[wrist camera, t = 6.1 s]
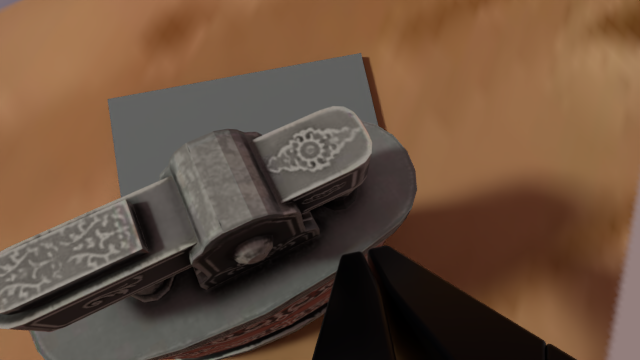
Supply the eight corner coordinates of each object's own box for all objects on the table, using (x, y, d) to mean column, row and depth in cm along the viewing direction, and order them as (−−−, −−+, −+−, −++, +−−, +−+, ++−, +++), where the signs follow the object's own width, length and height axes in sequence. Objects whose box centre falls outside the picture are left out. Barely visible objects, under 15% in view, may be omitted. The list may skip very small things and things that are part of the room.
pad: (394, 200, 17) (396, 199, 16) (132, 254, 16) (128, 254, 16) (359, 56, 17) (361, 53, 17) (111, 102, 17) (107, 99, 16)
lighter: (352, 199, 17) (380, 6, 7) (396, 278, 15) (496, 169, 6) (154, 294, 15) (-113, 209, 6) (185, 388, 14) (-83, 456, 5)
